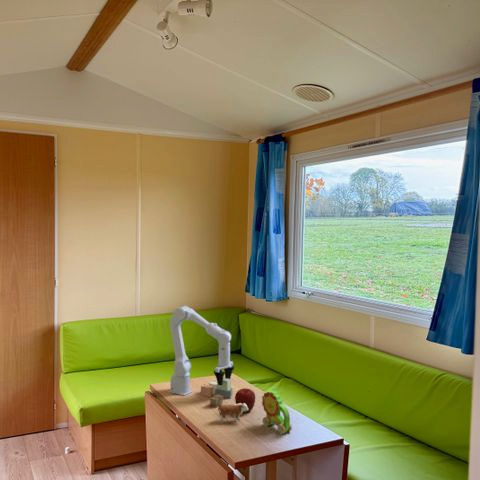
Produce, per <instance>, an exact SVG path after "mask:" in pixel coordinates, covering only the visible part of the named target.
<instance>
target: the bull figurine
mask: <svg viewBox="0 0 480 480" xmlns="http://www.w3.org/2000/svg"><path fill="white" fill-rule="evenodd" d="M217 410H218V413H219V416H220V417H219V418H220V419H221V420H222V421H223V420H224V422H226V423H229V421H228V419H227V417H226V415H227V416H228V417H231V416H235V420H234V422H236V423H238V422H239V421H241V417H240V416H241V415H242V414H243V413H244V412H243V411H248V410H249V409H248V407H247V405H246V403H243V404H241V403H239V404H236V403H235V404H222V405H220V406H218V407H217Z"/></svg>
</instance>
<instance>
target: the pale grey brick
mask: <svg viewBox="0 0 480 480" xmlns="http://www.w3.org/2000/svg"><path fill="white" fill-rule="evenodd" d="M208 385H210V386H214V393H215V389H216V388H217V381H211V382H209V383H208Z"/></svg>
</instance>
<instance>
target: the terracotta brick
mask: <svg viewBox="0 0 480 480" xmlns="http://www.w3.org/2000/svg"><path fill="white" fill-rule="evenodd" d="M200 394H201V395H205V396H209V397H211V396H213V395H215V392H214V386H210V385H209V384H202V385H201V386H200Z"/></svg>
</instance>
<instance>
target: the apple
mask: <svg viewBox="0 0 480 480" xmlns="http://www.w3.org/2000/svg"><path fill="white" fill-rule="evenodd" d="M234 398H235V399H234V400H235V401H234V402H235V404H239V403H241V404H243V403H246V405H247V407H248V409H249V410H248V411H243V413H247V412H248V413H249V412H250V411H252V410H253V409H254V407H255V403H256V393H255V392H254V391H253V390H252V389H250V388H247V387H246V388H245V387H244V388H240V389H238V390H237V392H236V393H235V397H234Z"/></svg>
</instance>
